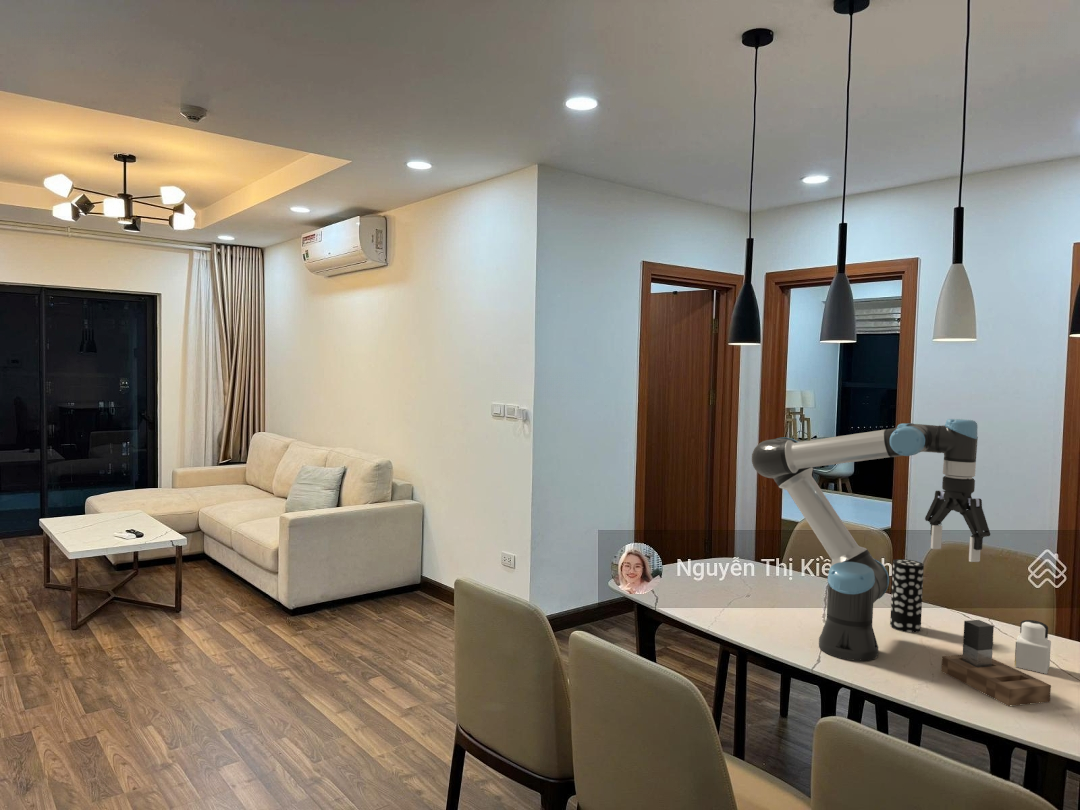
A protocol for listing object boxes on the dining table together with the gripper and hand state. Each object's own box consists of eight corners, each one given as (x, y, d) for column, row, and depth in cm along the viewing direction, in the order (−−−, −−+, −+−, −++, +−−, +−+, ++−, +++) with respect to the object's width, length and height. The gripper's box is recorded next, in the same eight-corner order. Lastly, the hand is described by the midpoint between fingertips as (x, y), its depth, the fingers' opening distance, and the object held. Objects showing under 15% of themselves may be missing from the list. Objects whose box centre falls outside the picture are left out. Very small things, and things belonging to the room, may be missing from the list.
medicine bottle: (1017, 659, 196) (1019, 615, 195) (1049, 666, 191) (1052, 622, 191) (1014, 667, 190) (1016, 622, 190) (1047, 674, 186) (1049, 629, 185)
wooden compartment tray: (1008, 706, 167) (1009, 689, 167) (941, 671, 186) (941, 656, 186) (1049, 701, 170) (1050, 685, 170) (979, 667, 189) (980, 652, 189)
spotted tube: (924, 633, 214) (927, 567, 213) (894, 631, 216) (897, 565, 215) (915, 624, 222) (918, 560, 221) (886, 621, 224) (889, 558, 223)
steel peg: (976, 682, 180) (979, 626, 180) (961, 674, 184) (964, 620, 184) (990, 680, 181) (993, 625, 181) (976, 673, 186) (978, 619, 185)
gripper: (1009, 483, 182) (1004, 566, 183) (936, 470, 206) (932, 543, 207) (984, 484, 180) (979, 567, 181) (913, 470, 205) (909, 544, 206)
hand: (954, 555), depth 194 cm, fingers open, 13 cm apart
